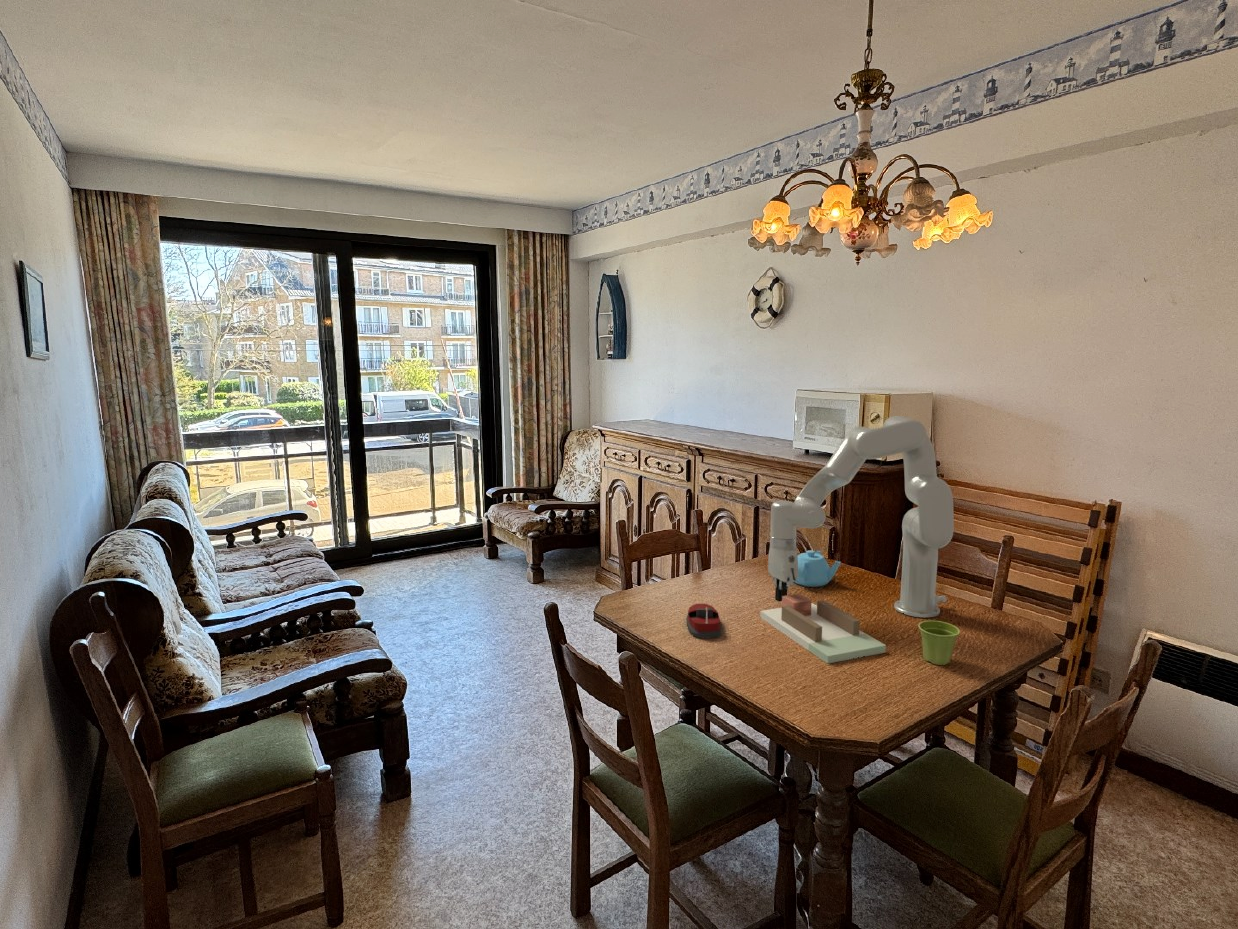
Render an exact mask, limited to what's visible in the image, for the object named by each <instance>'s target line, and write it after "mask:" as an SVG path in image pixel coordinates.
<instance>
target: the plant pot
mask: <svg viewBox="0 0 1238 929" xmlns="http://www.w3.org/2000/svg"><path fill="white" fill-rule="evenodd" d="M917 626H918V629H919V632H920V635H921V644H922V655H923V659H924V661H926V662H930V663H931V664H933V665H936V666H937V665H938V666H946V665H948V664H950V663H951V659H952V655H953V651H954V647H955V643H956V640H957V638H958V636H959V635H960V633H961V631H960V630H961V629H959V628H958V627H957V626H955V625H953V624H951V623H948V622H945V621H941V620H924V621H920V622H919V623H918V625H917Z"/></svg>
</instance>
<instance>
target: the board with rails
mask: <svg viewBox="0 0 1238 929" xmlns="http://www.w3.org/2000/svg"><path fill="white" fill-rule="evenodd" d="M759 614H760V616H759V617H760V618H761V620H763V621H765V622H766V623H768V624H770V626H772V627H774V628H775V629H777V630H778V631H779V632H781V633H782V634H783V635H786V636H787V638H790V639H791V640H793V641H794V642H795V643H797V644H798V645H800V646H801V647H803V648H804V649H806V650H807V651H808V652H810V653H812V654H813V655H814V656H815V657H817V658H819V659H820V660H822V661H823V662H825V663H826V664H832V663H837V662H842V661H843V662H844V661H849V660H853V658H854V659H859V658H863V656H865V657H869V656H874V655H879V654H884V653H887V652H886V650H887V644H885V643H882V642H881V641H879V640H877V639H876V638H874V637H872V636H871V635H869V634H867V633H865V632H864V631H862V630H860V623H861V621H860V619H858V618H856V617H855V616H853V615H851V614H849V613H847V612H845V611H843V610H842V609H840V608H838V607H837V606H835V605H832V603H829V602H827V601H825V600H817V603H816V604H815V603H813V602H812V603H811V615H809V616H804V615H802V614H801V613H799V612H797V611H796V610H794V609H792V608H791V607H789V606H783V607H782V606H781V607H776V608H771V609H765V610H764V609H763V610H760V613H759ZM858 657H859V658H858Z"/></svg>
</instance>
